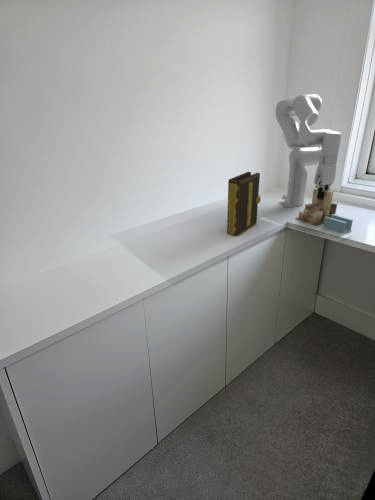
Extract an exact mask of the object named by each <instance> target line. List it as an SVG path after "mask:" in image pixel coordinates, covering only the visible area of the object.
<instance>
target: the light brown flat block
mask: <svg viewBox="0 0 375 500" xmlns="http://www.w3.org/2000/svg"><path fill="white" fill-rule="evenodd" d="M317 195H318V189H317V188H316V187H314V188H313V191H312V199H311V204H313V205H317V206H320V211H323V214H325V215H328V216H329V214H330V208H331V203H333V196H334V191H332V190H330V189H329V190H324V199H323V200H321V199H317Z"/></svg>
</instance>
